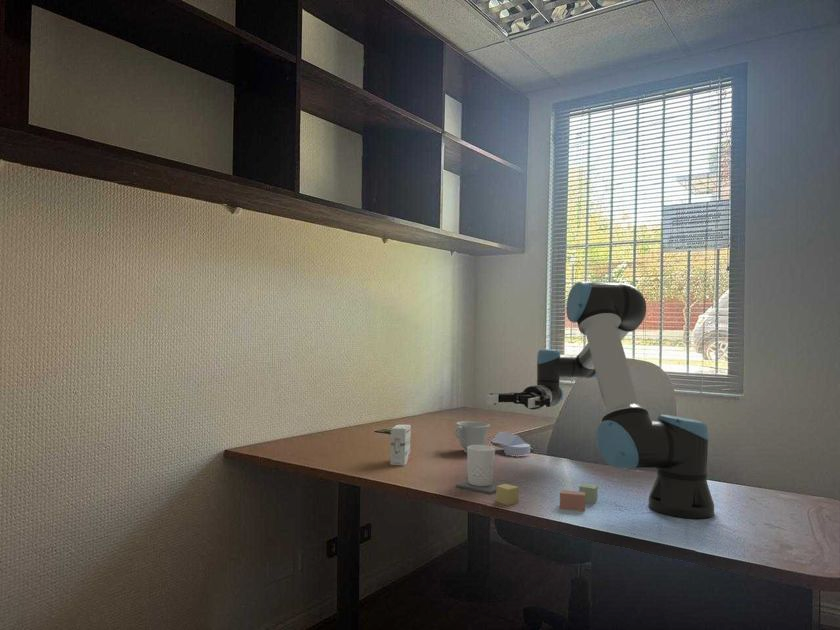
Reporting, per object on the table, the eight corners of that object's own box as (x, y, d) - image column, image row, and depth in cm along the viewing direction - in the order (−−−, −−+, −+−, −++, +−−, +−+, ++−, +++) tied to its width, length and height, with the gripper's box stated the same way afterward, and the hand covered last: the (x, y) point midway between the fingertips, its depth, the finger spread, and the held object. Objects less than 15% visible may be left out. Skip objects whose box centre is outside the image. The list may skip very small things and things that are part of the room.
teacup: (442, 452, 208) (443, 423, 209) (469, 446, 219) (470, 419, 219) (469, 458, 200) (470, 428, 200) (495, 452, 211) (496, 424, 211)
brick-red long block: (584, 508, 149) (584, 492, 149) (584, 511, 146) (585, 495, 146) (559, 505, 150) (560, 489, 150) (559, 509, 147) (560, 492, 147)
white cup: (461, 480, 169) (462, 445, 169) (486, 478, 171) (487, 444, 172) (473, 488, 161) (474, 451, 161) (499, 485, 164) (500, 449, 164)
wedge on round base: (490, 451, 213) (517, 458, 203) (491, 432, 213) (518, 438, 203) (508, 448, 219) (535, 455, 209) (508, 430, 219) (535, 435, 209)
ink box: (396, 459, 196) (397, 423, 196) (410, 460, 195) (411, 424, 195) (389, 465, 187) (390, 427, 187) (404, 466, 186) (405, 428, 186)
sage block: (597, 500, 156) (597, 485, 156) (594, 504, 152) (595, 488, 152) (581, 497, 157) (582, 482, 157) (578, 501, 154) (579, 486, 154)
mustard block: (518, 502, 151) (518, 487, 151) (507, 505, 149) (508, 489, 149) (506, 499, 154) (506, 483, 154) (496, 501, 152) (496, 486, 152)
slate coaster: (509, 485, 167) (509, 483, 167) (491, 494, 158) (491, 491, 158) (475, 478, 173) (475, 476, 173) (455, 486, 164) (455, 484, 164)
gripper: (573, 412, 187) (547, 418, 169) (501, 405, 201) (471, 410, 183) (573, 388, 187) (547, 391, 169) (502, 383, 201) (471, 386, 184)
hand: (507, 401), depth 176 cm, fingers open, 13 cm apart
